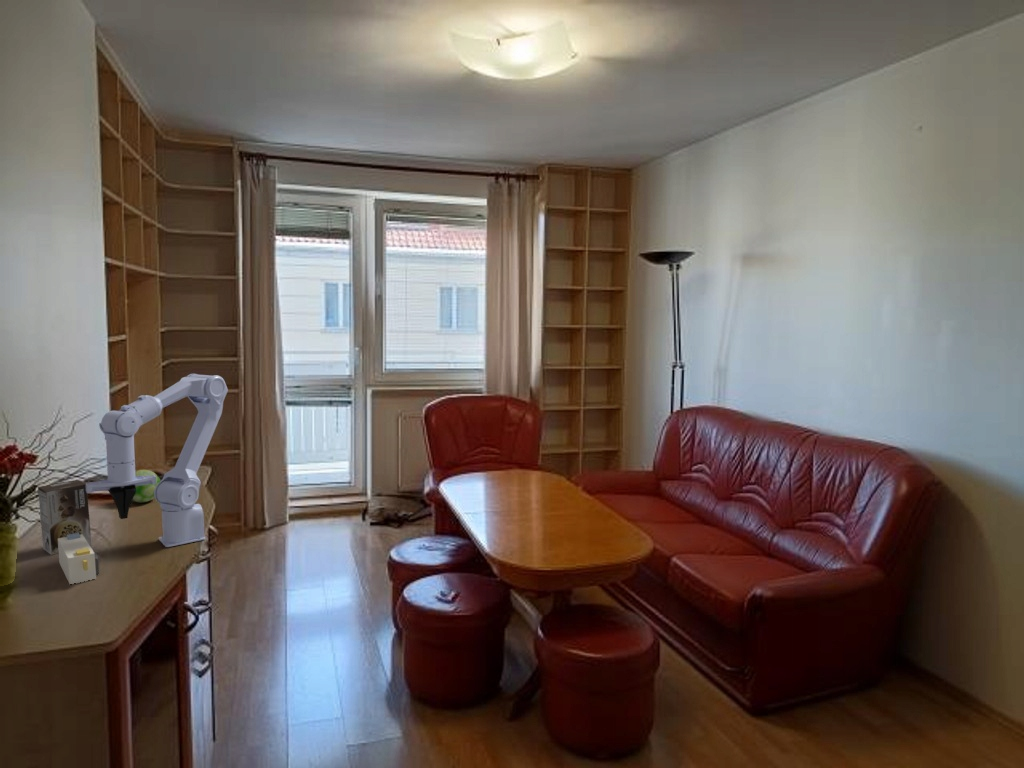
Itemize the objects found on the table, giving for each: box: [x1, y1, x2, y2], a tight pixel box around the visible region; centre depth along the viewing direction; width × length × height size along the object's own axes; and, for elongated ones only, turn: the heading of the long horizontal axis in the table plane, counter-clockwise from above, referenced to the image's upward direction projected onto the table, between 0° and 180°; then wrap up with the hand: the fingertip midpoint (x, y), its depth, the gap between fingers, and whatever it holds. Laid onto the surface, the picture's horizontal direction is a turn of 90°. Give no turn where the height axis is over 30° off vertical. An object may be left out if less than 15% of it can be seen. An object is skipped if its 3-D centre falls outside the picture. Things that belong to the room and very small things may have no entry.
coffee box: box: [37, 479, 93, 556], centre depth 172 cm, size 9×6×16 cm
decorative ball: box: [132, 469, 161, 504], centre depth 212 cm, size 10×10×10 cm
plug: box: [94, 552, 100, 576], centre depth 156 cm, size 5×4×4 cm
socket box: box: [58, 533, 97, 585], centre depth 158 cm, size 5×19×7 cm, turn 40°
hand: (123, 517), depth 164 cm, fingers closed
